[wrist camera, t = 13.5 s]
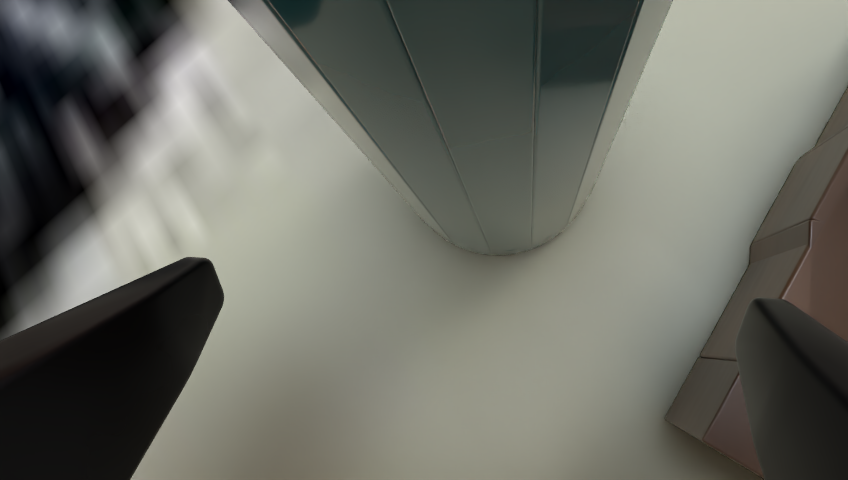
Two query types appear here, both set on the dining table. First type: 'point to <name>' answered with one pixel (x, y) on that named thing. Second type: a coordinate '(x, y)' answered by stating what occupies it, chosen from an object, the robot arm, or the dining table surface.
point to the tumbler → (472, 99)
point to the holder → (777, 289)
